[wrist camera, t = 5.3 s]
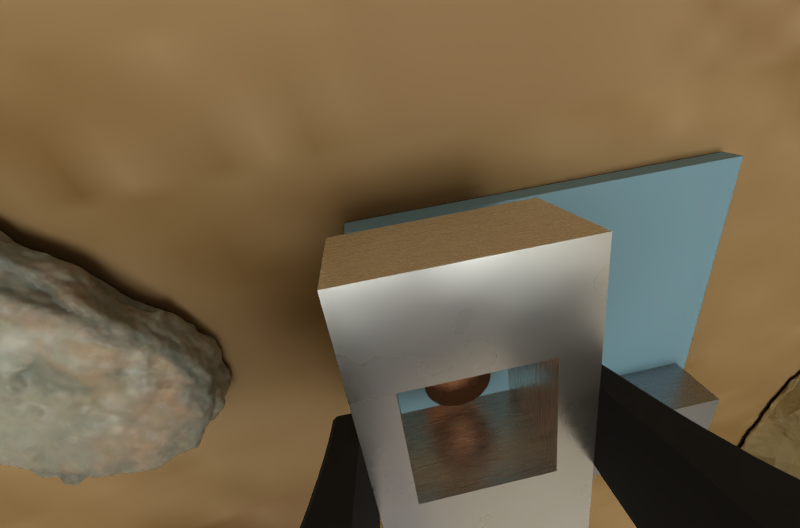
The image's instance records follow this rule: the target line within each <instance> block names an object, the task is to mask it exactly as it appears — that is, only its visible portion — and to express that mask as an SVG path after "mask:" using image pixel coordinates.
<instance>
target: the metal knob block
mask: <svg viewBox="0 0 800 528" xmlns="http://www.w3.org/2000/svg"><path fill="white" fill-rule="evenodd" d="M620 376H621V377H623V378H624V379H626V380H627V381H629V382H630V383H632V384H634V385H635V386H637V387H638V388H640V389H641V390H643V391H645V392H646V393H648V394H649V395H651V396H652V397H654V398H656V399H657V400H659V401H660V402H662V403H664V404H665V405H667V406H668V407H670V408H672V409H673V410H675V411H677V412H678V413H680V414H681V415H683V416H685V417H686V418H688V419H690V420H691V421H693V422H695V423H696V424H698V425H700V426H702V427H703V428H705V429H707V430H708V429H709V426H710V424H711V421H712V418H713V415H714V412H715V410H716V407H717V404H718V401H719V399H718V398H717V397H716V396H715V395H713V394H712V393H711V392H710V391H709V390H707V389H706V388H705V387H704V386H703V385H702V384H700V383H699V382H698V381H697V380H696V379H694V378H693V377H692V376H691V375H690V374H688V373H687V372H686V371H685V370H684V369H682V368H681V367H680V366H679V365H678V364H676V363H673V364H669V365H665V366H660V367H656V368H651V369H647V370H642V371H638V372H633V373H629V374H625V375H620ZM599 474H600V473H599V471H598V470H597V468H596V467H595V466H593V476H594V475H599Z"/></svg>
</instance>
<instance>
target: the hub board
mask: <svg viewBox="0 0 800 528" xmlns="http://www.w3.org/2000/svg"><path fill="white" fill-rule="evenodd" d="M742 158H743V156H742V155H736V154H731V153H726V152H719V153H713V154H708V155H703V156H697V157H692V158H687V159H681V160H676V161H671V162H666V163H660V164H655V165H650V166H644V167H639V168H634V169H629V170H623V171H618V172H613V173H607V174H602V175H597V176H591V177H586V178H581V179H576V180H570V181H565V182H560V183H554V184H549V185H544V186H539V187H533V188H528V189H523V190H517V191H512V192H507V193H501V194H496V195H491V196H486V197H480V198H475V199H470V200H464V201H459V202H454V203H449V204H443V205H438V206H433V207H427V208H422V209H417V210H411V211H406V212H401V213H396V214H390V215H385V216H380V217H374V218H369V219H364V220H359V221H353V222H348V223H344V232H345V234H348V233H354V232H359V231H364V230H369V229H374V228H380V227H385V226H390V225H395V224H401V223H406V222H411V221H416V220H421V219H427V218H432V217H437V216H442V215H448V214H453V213H458V212H463V211H469V210H474V209H479V208H484V207H489V206H495V205H500V204H505V203H510V202H516V201H521V200H526V199H531V198H536V197H537V198H539V199H541V200H544V201H546V202H548V203H550V204H552V205H555V206H557V207H559V208H561V209H564V210H566V211H568V212H570V213H573V214H575V215H577V216H579V217H581V218H584V219H586V220H588V221H590V222H593V223H595V224H597V225H599V226H601V227H604V228H606V229H608V230H610V231H612V242H611V254H610V267H609V279H608V291H607V304H606V316H605V329H604V341H603V354H602V365H604V366H605V367H607V368H609V369H610V370H612V371H613V372H615V373H616V374H618V375H625V374H629V373H633V372H638V371H642V370H647V369H651V368H656V367H660V366H665V365H669V364H673V363H676V364H678V365H679V366H680V367H681V368H682V369H684V366H685V362H686V358H687V355H688V351H689V348H690V344H691V341H692V337H693V333H694V330H695V326H696V323H697V319H698V316H699V312H700V308H701V305H702V301H703V298H704V294H705V291H706V287H707V283H708V280H709V276H710V273H711V269H712V265H713V262H714V258H715V255H716V251H717V248H718V244H719V240H720V237H721V233H722V230H723V226H724V223H725V219H726V215H727V212H728V208H729V205H730V201H731V197H732V194H733V190H734V187H735V183H736V180H737V176H738V172H739V169H740V165H741V162H742ZM490 374H491V376H490V382H489V384H488V386H487V388H486V389H485V391H484V392H483V393H482V394H481V395H480V396H483V395H487V394H492V393H496V392H501V391H505V390H509V380H508V369H505V370H501V371H496V372H492V373H490ZM398 396H399V401H400V406H401V411H402V414H403V413H407V412H412V411H416V410H421V409H425V408H429V407H434V406H438V405H440V404H437V403H435V402H434V401H432V400H431V399H430V398H429V397H428V395H427V393H426V391H425V387H424V388H419V389H415V390H410V391H406V392H401V393H398Z"/></svg>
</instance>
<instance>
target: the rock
mask: <svg viewBox="0 0 800 528" xmlns="http://www.w3.org/2000/svg"><path fill="white" fill-rule="evenodd" d="M740 449H742V450H744V451H746V452H747V453H749V454H751V455H753V456H755V457H757V458H759V459H760V460H762V461H764V462H766V463H768V464H770V465H772V466H774V467H776V468H778V469H780V470H782V471H784V472H786V473H788V474H790V475H792V476H794V477H796V478H798V479H800V373H799V374H798V375H797V376H796V377H795V378H794V379H792V380H791V381H790V382H789V384H788V385H787V387H786V388H785V389H784V390H783V391H782V392H781V393H780V394H779V396H778V397H777V398H776V399H775V400H774V401H773V402H772V403H771V405H770V407H769V408H768V409H767V410H766V411H765V413H764V414H763V416H762V418H761V420H760V421H759V422H758V424H757V425H756V426H755V427H754V428H753V429H752V430H751V431H750V432H749V434H748V435H747V437H746V439H745V442H744V444H743V445H742V447H741V448H740Z"/></svg>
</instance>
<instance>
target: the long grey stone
mask: <svg viewBox="0 0 800 528" xmlns="http://www.w3.org/2000/svg"><path fill="white" fill-rule="evenodd" d="M229 385H230V372H229V370H228V368H227V367H226V366H225V364H224V363H223V361H222V351H221V349H220V348H219V346H218V344H217V342H216V340H215V339H214V338H213V337H211V336H209V335H206V334H202V333H199V332H197V330H196V328H195V325H193V324H191V323H189V322H185V321H184V320H183V319H182V318H181V317H179V316H178V315H176V314H174V313H171V312H166V311H164V310H162V309H156V308H155V307H153V306H149V305H146V304H144V303H142V302H138V301H135V300H132V299H131V298H129V297H127V296H126V295H124V294H121V293H119V292H118V291H117V290H116V289H115V288H113V287H111V286H110V285H109V284H107V283H105V282H104V281H102V280H100V279H98V278H96V277H95V276H93V275H91V274H89V273H88V272H87V271H85V270H84V269H83V268H82V267H79V266H76V265H74V264H72V263H69V262H65V261H62V260H60V259H57V258H55V257H52V256H51V255H49V254H47V253H43V252H38V251H35V250H31V249H29V248H26V247H23V246H22V245H20V244H17V243H15V242H14V241H13V240H12V239H11V238H10V237H9V236H7V235H6V234H5V233H3V232H2V231H0V464H2V465H8V466H16V467H18V468H20V469H26V468H28V469H29V470H31V471H32V472H33V473H34V474H35V475H39V476H41V477H43V478H44V477H59V478H60V479H61V480H62V481H63V483H64V484H72V485H78V484H79V483H80V482H81V481H82V480H84V479H85V478H86V477H89V476H90V477H92V478H95V477H102V476H111V475H116V474H121V473H135V472H140V471H145V470H153V469H156V468H159V467H160V466H162V465H163V464H165V463H166V462H167V461H169V460H170V459H172V458H173V457H174V456H176V455H178V454H180V453H183V452H186V451H187V450H188V449H192V448H196V447H198V446H199V444H200V442H201V439H202V436H203V433H204V431H205V427H206V425H207V424H208V423H209V421H210V420H213V419H214V418H215V417H216V416H217V415H218V414H219V412H220V411H221V410H222V409H223V407H224V405H225V399H224V397H225V394H226V392H227V389H228V387H229Z"/></svg>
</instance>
